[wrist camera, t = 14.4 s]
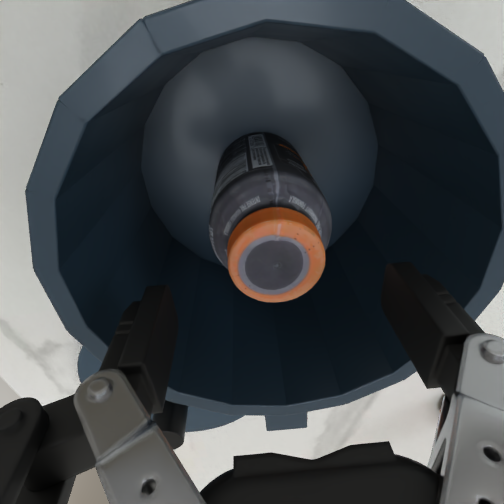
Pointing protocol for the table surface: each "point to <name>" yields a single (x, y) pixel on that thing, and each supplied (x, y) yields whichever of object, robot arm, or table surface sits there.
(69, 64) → the table surface
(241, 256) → the pill bottle
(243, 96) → the pot
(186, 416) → the lid
